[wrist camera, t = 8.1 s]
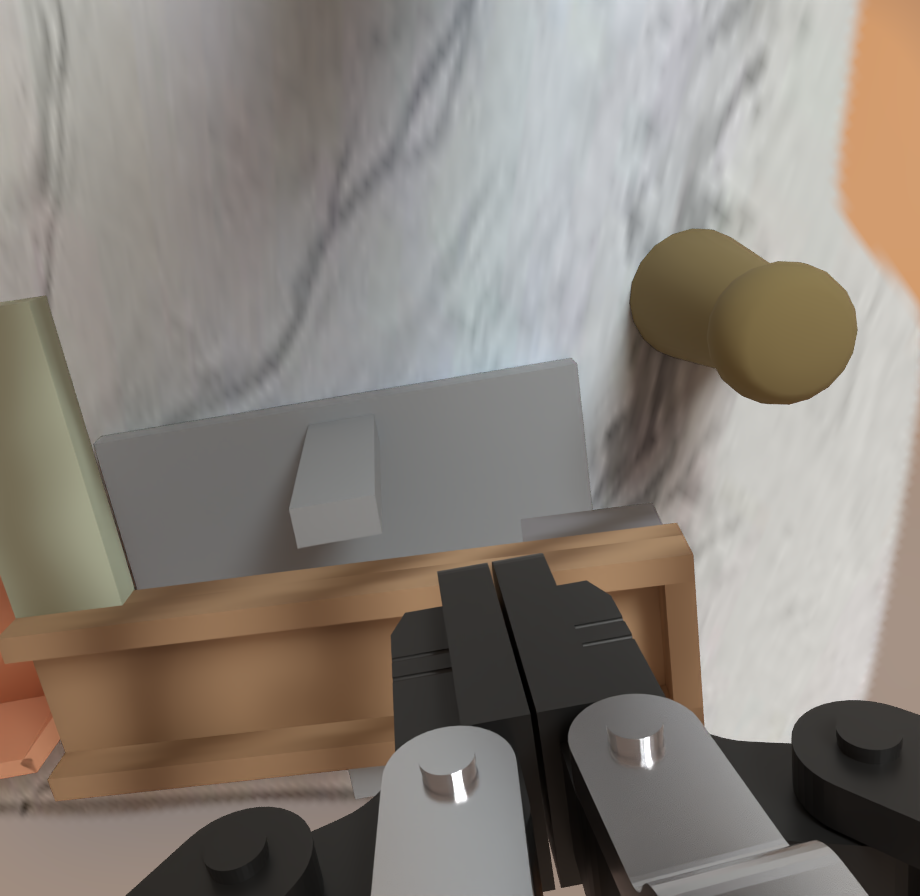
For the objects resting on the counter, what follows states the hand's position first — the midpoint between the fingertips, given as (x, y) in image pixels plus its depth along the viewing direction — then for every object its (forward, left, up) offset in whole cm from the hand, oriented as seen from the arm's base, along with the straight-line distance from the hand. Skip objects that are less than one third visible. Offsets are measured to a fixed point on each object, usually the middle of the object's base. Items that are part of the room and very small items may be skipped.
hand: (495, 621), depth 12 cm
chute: (+5, -4, -20) cm, 22 cm away
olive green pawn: (+2, +13, -29) cm, 32 cm away
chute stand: (+11, -4, -29) cm, 31 cm away
